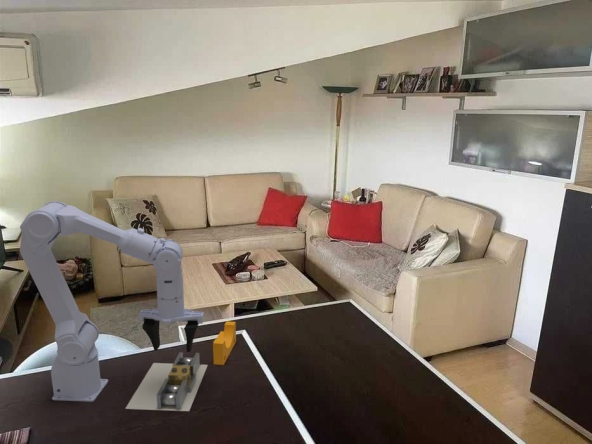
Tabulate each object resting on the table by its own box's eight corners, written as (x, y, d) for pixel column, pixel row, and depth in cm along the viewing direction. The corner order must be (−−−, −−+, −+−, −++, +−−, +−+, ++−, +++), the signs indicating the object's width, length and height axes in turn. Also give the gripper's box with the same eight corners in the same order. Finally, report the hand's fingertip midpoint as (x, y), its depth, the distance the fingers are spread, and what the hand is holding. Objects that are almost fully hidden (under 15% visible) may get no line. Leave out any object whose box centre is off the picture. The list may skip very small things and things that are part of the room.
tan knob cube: (174, 380, 109) (173, 364, 108) (190, 380, 109) (190, 364, 108) (169, 390, 105) (168, 373, 104) (186, 390, 105) (185, 374, 104)
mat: (125, 409, 98) (125, 408, 98) (153, 364, 116) (153, 362, 116) (189, 412, 98) (189, 411, 98) (207, 365, 115) (207, 364, 115)
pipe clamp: (221, 341, 128) (220, 320, 126) (236, 343, 127) (235, 322, 125) (207, 365, 116) (206, 342, 115) (223, 366, 116) (222, 343, 114)
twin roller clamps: (154, 408, 98) (153, 394, 98) (177, 364, 115) (176, 352, 115) (183, 410, 98) (182, 396, 97) (202, 365, 115) (201, 352, 114)
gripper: (131, 301, 98) (135, 356, 102) (197, 303, 98) (199, 359, 101) (143, 288, 105) (147, 341, 109) (205, 290, 105) (207, 343, 108)
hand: (173, 349), depth 105 cm, fingers open, 7 cm apart
